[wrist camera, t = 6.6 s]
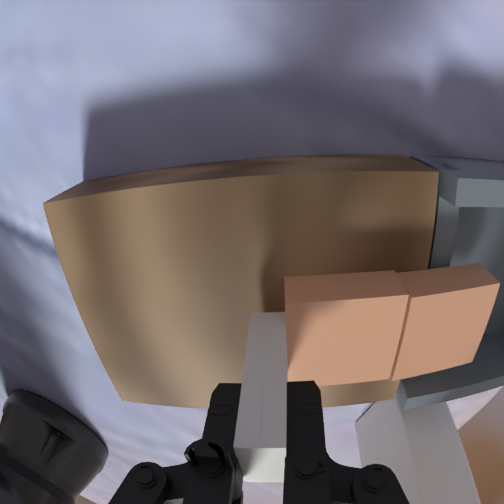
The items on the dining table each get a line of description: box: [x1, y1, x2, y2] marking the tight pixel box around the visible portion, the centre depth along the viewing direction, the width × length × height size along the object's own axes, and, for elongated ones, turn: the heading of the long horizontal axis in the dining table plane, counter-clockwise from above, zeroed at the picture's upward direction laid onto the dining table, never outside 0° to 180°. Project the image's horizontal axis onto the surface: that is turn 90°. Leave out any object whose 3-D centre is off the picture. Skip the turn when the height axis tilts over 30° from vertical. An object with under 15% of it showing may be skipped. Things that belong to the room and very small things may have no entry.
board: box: [43, 155, 439, 409], centre depth 17 cm, size 18×14×4 cm
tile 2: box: [284, 270, 409, 386], centre depth 14 cm, size 5×5×2 cm
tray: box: [397, 155, 504, 410], centre depth 15 cm, size 13×14×5 cm
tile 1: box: [390, 263, 500, 381], centre depth 13 cm, size 5×5×2 cm
